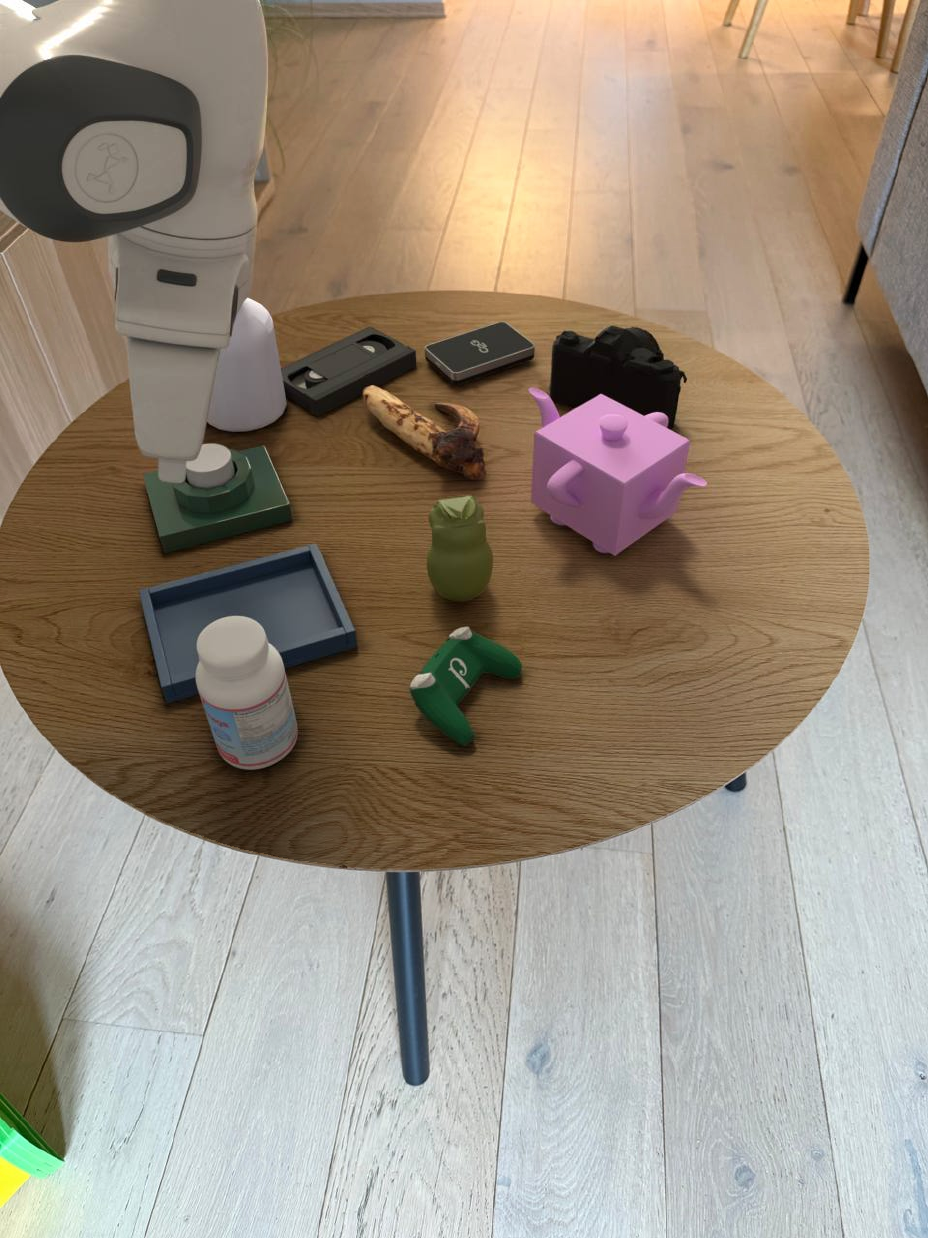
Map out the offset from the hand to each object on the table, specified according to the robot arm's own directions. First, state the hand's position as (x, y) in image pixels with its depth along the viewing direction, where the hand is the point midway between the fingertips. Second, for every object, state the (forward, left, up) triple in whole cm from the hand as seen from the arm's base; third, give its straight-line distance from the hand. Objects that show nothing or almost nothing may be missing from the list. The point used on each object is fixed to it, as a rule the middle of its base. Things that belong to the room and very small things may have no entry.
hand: (176, 438), depth 69 cm
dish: (+1, -3, -17) cm, 18 cm away
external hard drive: (+35, +28, -18) cm, 48 cm away
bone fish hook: (+25, +16, -18) cm, 35 cm away
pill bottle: (-1, -15, -18) cm, 23 cm away
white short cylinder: (+3, +14, -14) cm, 20 cm away
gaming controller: (+15, -17, -18) cm, 29 cm away
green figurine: (+19, -6, -18) cm, 27 cm away
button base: (+3, +14, -17) cm, 22 cm away
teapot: (+36, -2, -18) cm, 40 cm away
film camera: (+46, +15, -18) cm, 52 cm away
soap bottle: (+8, +29, -18) cm, 35 cm away
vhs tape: (+20, +31, -18) cm, 41 cm away
